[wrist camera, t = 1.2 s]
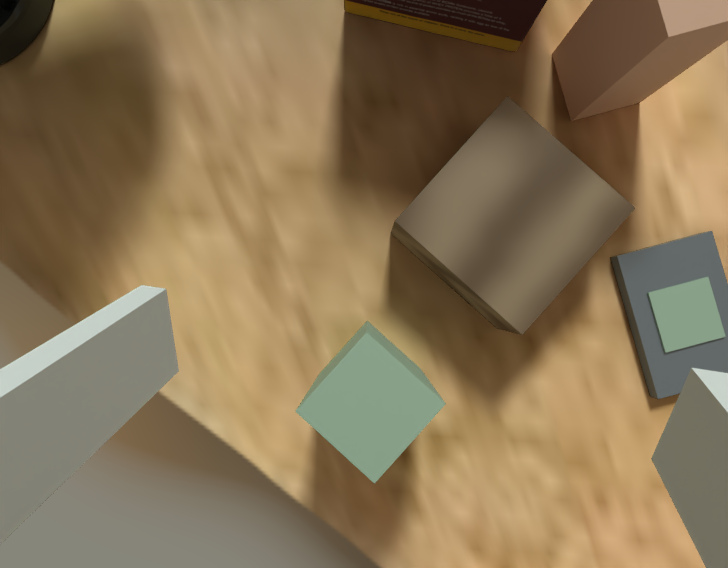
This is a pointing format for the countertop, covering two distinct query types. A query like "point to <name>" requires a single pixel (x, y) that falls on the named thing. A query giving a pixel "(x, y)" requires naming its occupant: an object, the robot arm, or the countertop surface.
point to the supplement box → (458, 18)
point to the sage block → (370, 402)
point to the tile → (676, 309)
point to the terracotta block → (634, 50)
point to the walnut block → (511, 219)
